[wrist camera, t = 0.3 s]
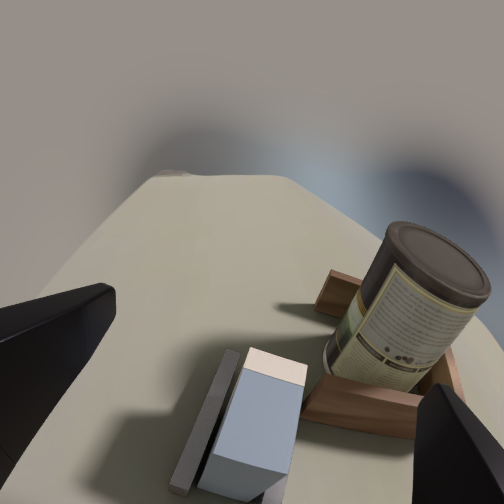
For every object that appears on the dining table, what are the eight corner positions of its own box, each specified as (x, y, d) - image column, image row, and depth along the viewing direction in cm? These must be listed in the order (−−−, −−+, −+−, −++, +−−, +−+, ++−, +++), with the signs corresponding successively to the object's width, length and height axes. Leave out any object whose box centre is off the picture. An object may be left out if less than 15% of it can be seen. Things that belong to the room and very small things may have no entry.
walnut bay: (433, 441, 21) (468, 414, 19) (298, 417, 22) (323, 385, 20) (415, 335, 34) (436, 306, 32) (314, 303, 35) (331, 269, 33)
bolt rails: (267, 519, 14) (278, 515, 13) (168, 490, 15) (169, 483, 14) (295, 390, 25) (306, 374, 23) (221, 365, 25) (226, 348, 24)
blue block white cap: (247, 502, 15) (288, 473, 11) (196, 487, 16) (213, 452, 11) (269, 423, 21) (307, 365, 17) (225, 409, 22) (250, 346, 17)
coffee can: (307, 334, 31) (365, 212, 23) (382, 329, 34) (441, 228, 27) (344, 420, 23) (445, 298, 15) (422, 398, 26) (509, 295, 18)
